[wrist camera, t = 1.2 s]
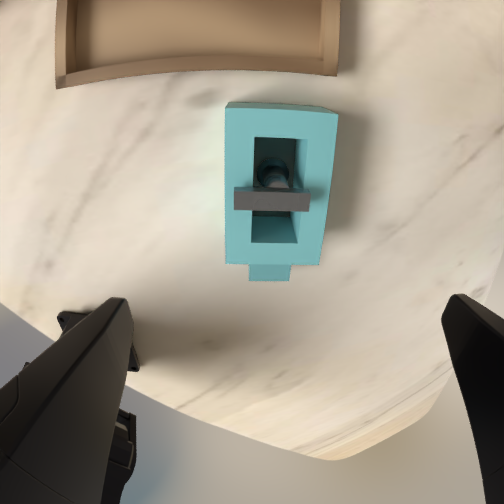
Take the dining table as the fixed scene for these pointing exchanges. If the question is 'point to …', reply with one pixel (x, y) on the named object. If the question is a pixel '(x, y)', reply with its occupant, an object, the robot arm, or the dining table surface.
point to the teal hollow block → (305, 176)
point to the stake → (272, 191)
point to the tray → (193, 37)
